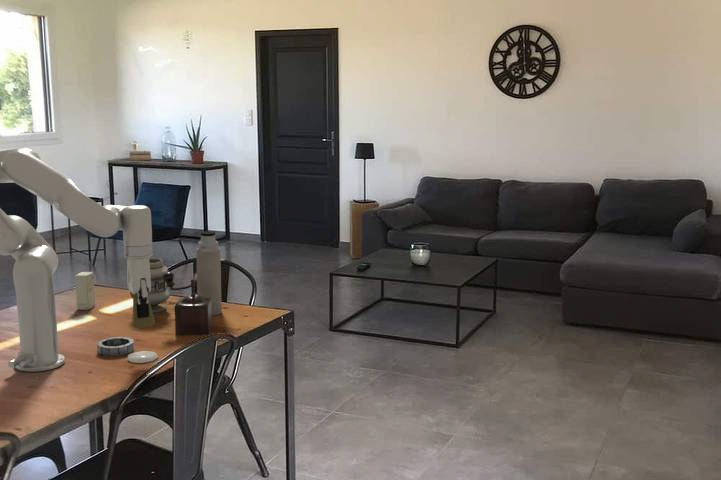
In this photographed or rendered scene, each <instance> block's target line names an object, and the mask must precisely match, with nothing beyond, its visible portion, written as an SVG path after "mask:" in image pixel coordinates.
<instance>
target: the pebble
mask: <svg viewBox="0 0 721 480" xmlns="http://www.w3.org/2000/svg"><path fill="white" fill-rule="evenodd" d="M157 359H158V353H156V351H155V352H154V351H150V350H140V351H135V352H131V353H129V354H127V362H130V363H133V364H146V363H151V362H154V361H156V360H157Z"/></svg>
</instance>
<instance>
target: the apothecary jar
mask: <svg viewBox="0 0 721 480" xmlns="http://www.w3.org/2000/svg"><path fill="white" fill-rule="evenodd" d="M149 263H150V277H151V291H150V294H149V296H148V298H149V301H150V305H151V309H152V312H153V316H158V315H162V314H165V313H166V312H167V311H168V310H167V308H166V307H164V306H162V303H165V302H166V301H168V299H169V298H170V295H171V293H170V292H169V290H168V289H167V287H166V282H165V281H164V280H163V278H162V276H163V274H164V273H166V272H169V269H168V267H167V266H165V264H164V262H163V259H162V258H159V257H158V258H157V257H149Z"/></svg>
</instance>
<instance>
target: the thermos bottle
mask: <svg viewBox="0 0 721 480" xmlns="http://www.w3.org/2000/svg"><path fill="white" fill-rule="evenodd" d="M197 246H198V247H197V248H196V252H195V253H196V283H197V284H196V285H197V286H196V287H197V288H196V289H197V291H196V295H199V296H201V297H205V298H211V299H212V301H211V303H212V316H217V315H220V314H221V313H222V312H223V311H222V310H223V309H222V279H221V278H222V271H221V270H222V266H221V264H222V262H221V261H222V260H221V256H222V255H221V248H220V247H219V241H218V240H216V232H215V231H202V232H200V240H199V241H198V245H197Z"/></svg>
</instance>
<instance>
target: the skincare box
mask: <svg viewBox="0 0 721 480" xmlns="http://www.w3.org/2000/svg"><path fill="white" fill-rule="evenodd" d="M74 279H75V281H74V282H75V297H76V298H75V299H76V310H82V311H83V310H85V311H86V310H87V311H88V310H91V309H92V308H94V307H95V306H96V295H95V294H96V293H95V279H94V271H81V272H79V273H77V274H75V275H74Z"/></svg>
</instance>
